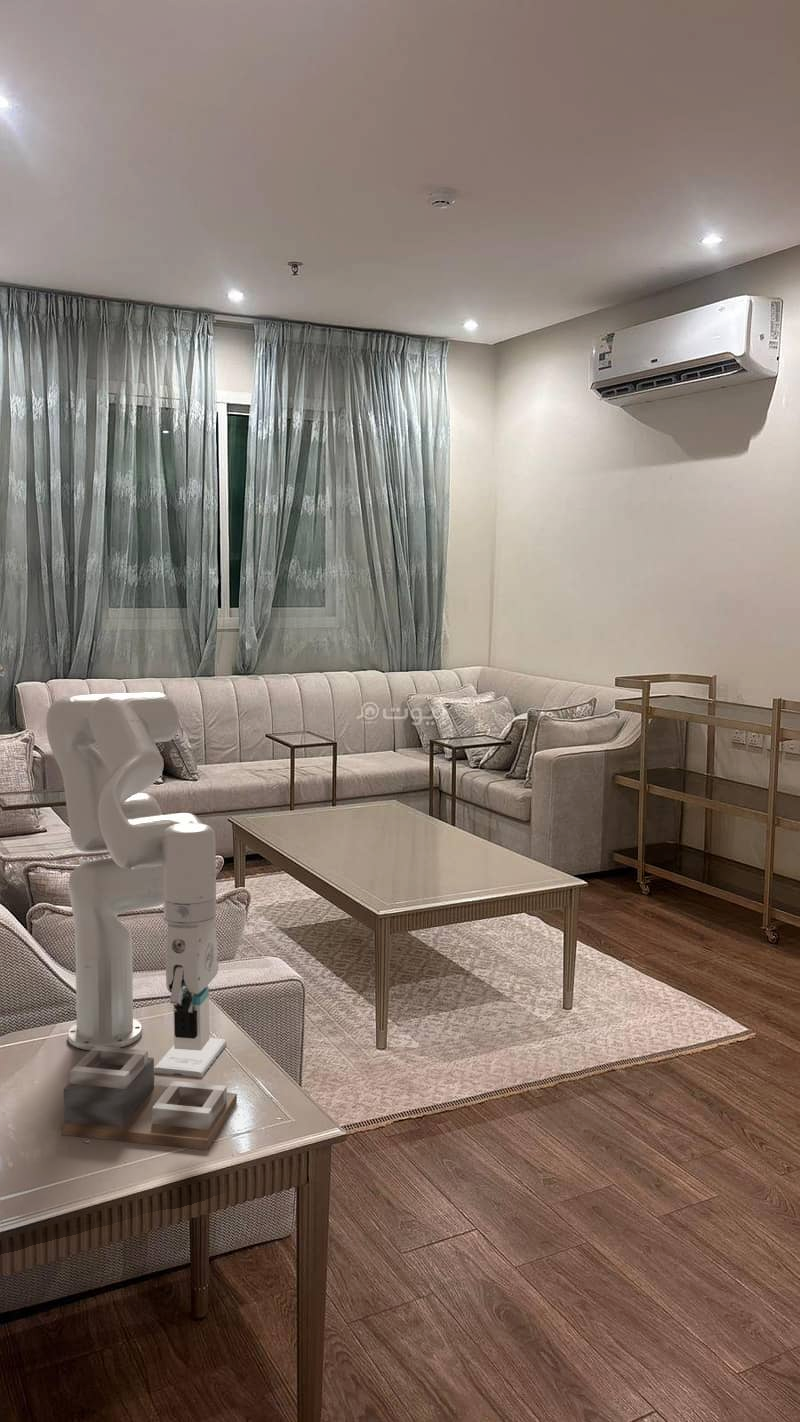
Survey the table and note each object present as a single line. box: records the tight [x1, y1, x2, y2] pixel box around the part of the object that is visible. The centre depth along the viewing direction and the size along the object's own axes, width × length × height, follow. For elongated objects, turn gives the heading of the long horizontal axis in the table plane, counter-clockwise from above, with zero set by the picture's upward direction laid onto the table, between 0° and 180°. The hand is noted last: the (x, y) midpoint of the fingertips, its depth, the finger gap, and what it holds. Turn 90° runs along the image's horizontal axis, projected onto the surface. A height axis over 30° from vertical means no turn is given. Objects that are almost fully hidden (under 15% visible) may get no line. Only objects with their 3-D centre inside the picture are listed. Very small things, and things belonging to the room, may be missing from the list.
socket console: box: [60, 1046, 238, 1151], centre depth 162 cm, size 22×14×8 cm, turn 81°
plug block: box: [173, 986, 210, 1051], centre depth 159 cm, size 4×4×8 cm
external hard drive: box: [154, 1037, 227, 1078], centre depth 182 cm, size 2×8×12 cm
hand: (191, 1029), depth 159 cm, fingers closed on plug block, 4 cm apart
